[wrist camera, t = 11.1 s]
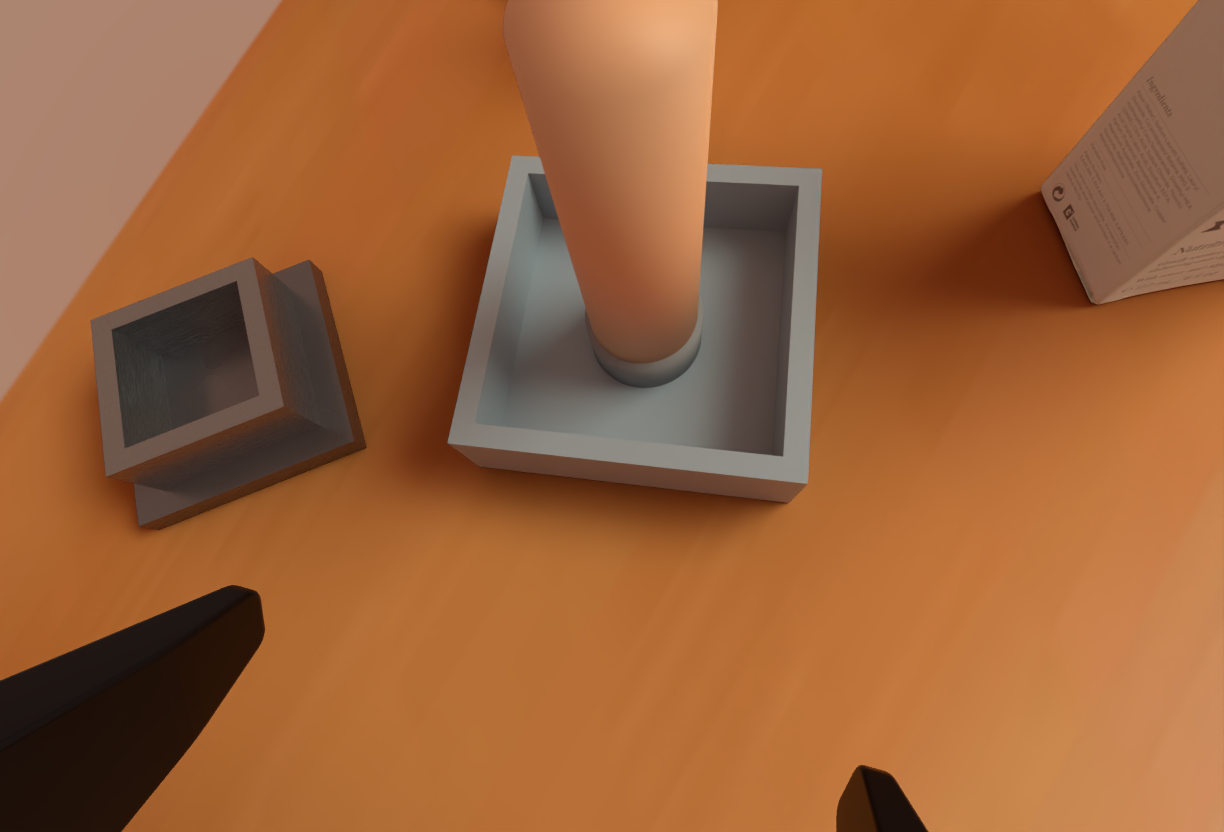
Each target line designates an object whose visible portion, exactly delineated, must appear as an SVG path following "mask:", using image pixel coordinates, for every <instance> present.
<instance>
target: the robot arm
mask: <svg viewBox="0 0 1224 832" xmlns="http://www.w3.org/2000/svg"><path fill="white" fill-rule="evenodd" d="M264 633H265V625H264V618H263V612H262V605H261V598H260V595H259V594H258V593H257V592H256V591H254V590H251V589H248V588H244V587H241V586H236V585H231V586H227V587H224V588H221V589H219V590H217V591H214V592H212V593H209V594H207V595H205V596H202V597H200V598H197V599H195V600H193V601H190V602H188V603H185V604H183V605H181V606H178V607H176V608H173V609H171V610H169V611H166V612H164V613H161V614H159V615H157V616H154V617H152V618H149V619H147V620H145V621H142V622H140V623H137V624H135V625H133V626H130V627H128V628H126V629H123V630H121V631H118V632H116V633H114V634H111V635H109V636H106V637H104V638H102V639H99V640H97V641H94V642H92V643H90V644H87V645H85V646H82V647H80V648H78V649H75V650H73V651H70V652H68V653H66V654H63V655H61V656H58V657H56V658H54V659H51V660H49V661H46V662H44V663H42V664H39V665H37V666H34V667H32V668H30V669H27V670H25V671H22V672H20V673H18V674H15V675H13V676H10V677H8V678H6V679H3V680H1V681H0V832H121V831H122V830H123V829H124V828H125V827H126V825H127V824H128V823H129V822H130V820H131V819H132V818H133V817H134V815H135V814H136V813H137V812H138V811H139V809H140V808H141V807H142V806H143V804H144V803H145V802H146V801H147V799H148V798H149V797H150V796H151V795H152V793H153V792H154V791H155V790H156V788H157V787H158V786H159V785H160V783H161V782H162V781H163V780H164V779H165V777H166V776H167V775H168V774H169V772H170V771H171V770H172V769H173V768H174V766H175V765H176V764H177V763H178V761H179V760H180V759H181V758H182V756H183V755H184V754H185V753H186V751H187V750H188V749H189V748H190V746H191V745H192V744H193V742H194V741H195V740H196V738H197V737H198V736H199V734H200V733H201V732H202V730H203V729H204V727H205V726H206V725H207V723H208V722H209V720H210V719H211V717H212V716H213V714H214V713H215V711H216V710H217V708H218V707H219V705H220V704H221V702H222V701H223V699H224V698H225V697H226V695H227V694H228V692H229V691H230V689H231V688H232V686H233V685H234V683H235V682H236V680H237V679H238V677H239V676H240V674H241V673H242V671H243V670H244V668H245V667H246V666H247V664H248V663H249V661H250V660H251V658H252V657H253V655H254V654H255V652H256V651H257V649H258V648H259V646H260V644H261V642H262V640H263V637H264ZM836 832H928V830H927V829H926V827H925V826H924V824H923V823H922V821H921V819H920V818H919V816H918V815H917V813H916V811H915V810H914V808H913V807H912V805H911V803H910V802H909V800H908V799H907V797H906V796H905V794H904V792H903V791H902V789H901V788H900V786H899V784H898V783H897V781H896V780H895V778H894V777H893V776H892V775H891V774H889V773H888V772H886V771H883V770H879V769H876V768H872V767H869V766H865V765H860V766H858V767H857V768H856V769H855V771H854V772H853V774H852V776H851V778H850V780H849V782H848V784H847V786H846V788H845V790H844V792H843V794H842V796H841V798H840V800H839V803H838V808H837V816H836Z"/></svg>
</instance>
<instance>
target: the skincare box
mask: <svg viewBox="0 0 1224 832" xmlns="http://www.w3.org/2000/svg"><path fill="white" fill-rule="evenodd" d="M1041 192H1042V195H1043V197H1044V200H1045V202H1046V204H1047V206H1048V208H1049V210H1050V212H1051V213H1052V215H1053V217H1054V219H1055V221H1056V224H1057V226H1058V228H1059V230H1060V233H1061V235H1062V238H1063V240H1064V242H1065V244H1066V247H1067V249H1068V252H1069V254H1070V257H1071V260H1072V262H1073V264H1074V266H1075V269H1076V270H1077V273H1078V275H1079V277H1080V279H1081V282H1082V284H1083V286H1084V288H1085V290H1086V293H1087V295H1088V297H1089V299H1090V301H1091V302H1092V303H1095V304H1098V305H1099V304H1103V303H1107V302H1111V301H1116V300H1120V299H1123V298H1126V297H1130V296H1135V295H1139V294H1144V293H1149V292H1154V291H1159V290H1164V289H1169V288H1175V287H1180V286H1186V285H1192V284H1197V283H1203V282H1209V281H1215V280H1221V279H1224V0H1198V2H1197V3H1196V4H1195V5H1194V6H1193V7H1192V8H1191V10H1190V11H1189V12H1188V13H1187V14H1186V16H1185V17H1184V18H1183V19H1182V20H1181V22H1180V23H1179V24H1178V25H1177V26H1176V28H1175V29H1174V30H1173V31H1172V32H1171V34H1170V35H1169V36H1168V37H1167V38H1166V39H1165V41H1164V42H1163V43H1162V44H1161V45H1160V46H1159V48H1158V49H1157V50H1156V51H1155V52H1154V53H1153V55H1152V56H1151V57H1150V58H1149V59H1148V60H1147V62H1146V63H1145V64H1144V65H1143V66H1142V68H1141V69H1140V70H1139V71H1138V72H1137V73H1136V75H1135V76H1134V77H1133V78H1132V79H1131V80H1130V82H1129V83H1128V84H1127V85H1126V86H1125V88H1124V89H1123V90H1122V91H1121V92H1120V93H1119V95H1118V96H1117V97H1116V98H1115V99H1114V101H1113V102H1112V103H1111V104H1110V105H1109V107H1108V108H1107V109H1106V110H1105V111H1104V112H1103V114H1102V115H1101V116H1100V117H1099V118H1098V119H1097V121H1096V122H1095V123H1094V124H1093V125H1092V126H1091V128H1090V129H1089V130H1088V131H1087V132H1086V133H1085V135H1084V136H1083V137H1082V138H1081V139H1080V141H1079V142H1078V143H1077V144H1076V145H1075V147H1074V148H1073V149H1072V150H1071V151H1070V152H1069V153H1068V155H1067V156H1066V157H1065V158H1064V159H1063V161H1062V162H1061V163H1060V164H1059V165H1058V167H1057V168H1056V169H1055V170H1054V171H1053V173H1052V174H1051V175H1050V176H1049V177H1048V178H1047V180H1046V181H1045V182H1044V183H1043V184H1042V186H1041Z"/></svg>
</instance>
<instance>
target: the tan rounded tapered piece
mask: <svg viewBox="0 0 1224 832" xmlns="http://www.w3.org/2000/svg"><path fill="white" fill-rule="evenodd" d="M717 9H718V2H717V0H508V3H507V6H506V8H505V13H504V18H503V34H504V40H505V44H506V47H507V50H508V54H509V57H510V60H511V63H512V67H513V70H514V73H515V77H516V80H517V83H518V87H519V90H520V93H521V96H522V100H523V103H524V106H525V110H526V113H527V116H528V120H529V123H530V126H531V129H532V133H533V136H534V139H535V143H536V146H537V149H538V153H539V156H540V159H541V162H542V166H543V169H544V172H545V176H546V179H547V182H548V185H549V189H550V192H551V195H552V199H553V202H554V205H555V209H556V212H557V215H558V218H559V222H560V225H561V228H562V232H563V235H564V238H565V242H566V245H567V248H568V251H569V255H570V258H571V261H572V265H573V268H574V271H575V275H576V278H577V281H578V284H579V288H580V291H581V294H582V298H583V301H584V304H585V307H586V309H585V324H586V329H587V332H588V336H589V339H590V342H591V345H592V348H593V351H594V354H595V357H596V359H597V361H598V363H599V364H600V366H601V367H602V368H603V370H604V371H605V372H606V373H607V374H608V375H610V376H611V377H612V378H614V379H615V380H617V381H619V382H621V383H623V384H626V385H629V386H633V387H641V388H649V387H657V386H661V385H664V384H667V383H669V382H671V381H674V380H675V379H677V378H678V377H680V376H681V375H682V374H684V373H685V372H686V371H687V370H688V369H689V368H690V366H691V365H692V364H693V362H694V361H695V359H696V357H697V355H698V352H699V349H700V345H701V335H702V323H703V305H702V300H701V297H700V295H699V287H700V271H701V256H702V240H703V225H704V210H705V194H706V179H707V163H708V148H709V133H710V117H711V102H712V86H713V71H714V55H715V40H716V25H717Z"/></svg>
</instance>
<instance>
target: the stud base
mask: <svg viewBox="0 0 1224 832" xmlns="http://www.w3.org/2000/svg"><path fill="white" fill-rule="evenodd" d="M91 330H92V340H93V350H94V361H95V371H96V381H97V391H98V402H99V412H100V422H101V432H102V443H103V453H104V463H105V473H106V477H109V478H113V479H117V480H121V481H125V482H130V483H134V491H135V500H136V509H137V517H138V526H139V527H145V528H151V529H157V530H160V529H162V528H165V527H167V526H170V525H172V524H175V523H178V522H180V521H183V520H185V519H188V518H190V517H193V516H195V515H198V514H200V513H203V512H205V511H208V510H210V509H213V508H215V507H218V506H220V505H223V504H225V503H228V502H230V501H233V500H235V499H238V498H240V497H243V496H245V495H248V494H250V493H253V492H256V491H258V490H261V489H263V488H266V487H268V486H271V485H273V484H276V483H278V482H281V481H283V480H286V479H288V478H291V477H293V476H296V475H298V474H301V473H303V472H306V471H308V470H311V469H313V468H316V467H318V466H321V465H323V464H326V463H328V462H331V461H334V460H336V459H339V458H341V457H344V456H346V455H349V454H351V453H354V452H356V451H359V450H361V449H364V448H366V444H365V440H364V436H363V432H362V428H361V425H360V421H359V417H358V413H357V409H356V405H355V401H354V397H353V393H352V389H351V385H350V381H349V377H348V373H347V369H346V365H345V361H344V358H343V354H342V350H341V346H340V342H339V338H338V334H337V330H336V326H335V322H334V318H333V314H332V310H331V306H330V302H329V298H328V294H327V291H326V287H325V283H324V279H323V275H322V271H320V270H319V269H318V268H317V267H316V266H315V265H314V264H313V263H312V262H311V261H310V260H307V261H304V262H302V263H299V264H297V265H294V266H292V267H289V268H286V269H284V270H281V271H279V272H276V273H274V274H272V273H271V272H270V271H268V270H267V269H266V268H265V267H264V266H262V265H261V264H260V263H259V262H258V261H257V260H255V259H254V258H253V257H252V258H249V259H247V260H244V261H241V262H239V263H236V264H234V265H231V266H229V267H226V268H223V269H221V270H218V271H216V272H213V273H211V274H208V275H205V276H203V277H200V278H198V279H195V280H193V281H190V282H187V283H185V284H182V285H180V286H177V287H175V288H172V289H169V290H167V291H164V292H162V293H159V294H157V295H154V296H152V297H149V298H146V299H144V300H141V301H139V302H136V303H134V304H131V305H128V306H126V307H123V308H121V309H118V310H116V311H113V312H110V313H108V314H105V315H103V316H100V317H98V318H95V319H92V320H91Z"/></svg>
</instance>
